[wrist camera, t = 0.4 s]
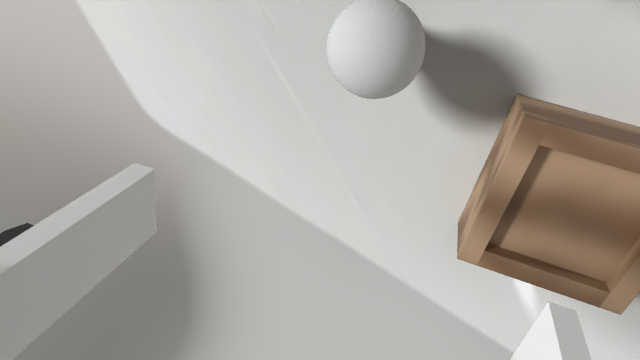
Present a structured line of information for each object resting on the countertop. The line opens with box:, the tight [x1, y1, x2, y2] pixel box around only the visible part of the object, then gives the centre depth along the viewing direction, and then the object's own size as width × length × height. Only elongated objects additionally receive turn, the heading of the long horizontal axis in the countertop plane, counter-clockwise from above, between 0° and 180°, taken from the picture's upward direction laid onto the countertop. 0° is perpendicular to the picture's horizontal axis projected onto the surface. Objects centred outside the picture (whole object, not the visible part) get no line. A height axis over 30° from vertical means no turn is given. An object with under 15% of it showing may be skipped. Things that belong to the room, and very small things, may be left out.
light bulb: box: [327, 0, 426, 99], centre depth 27 cm, size 6×6×10 cm
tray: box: [457, 94, 640, 315], centre depth 30 cm, size 12×12×5 cm
